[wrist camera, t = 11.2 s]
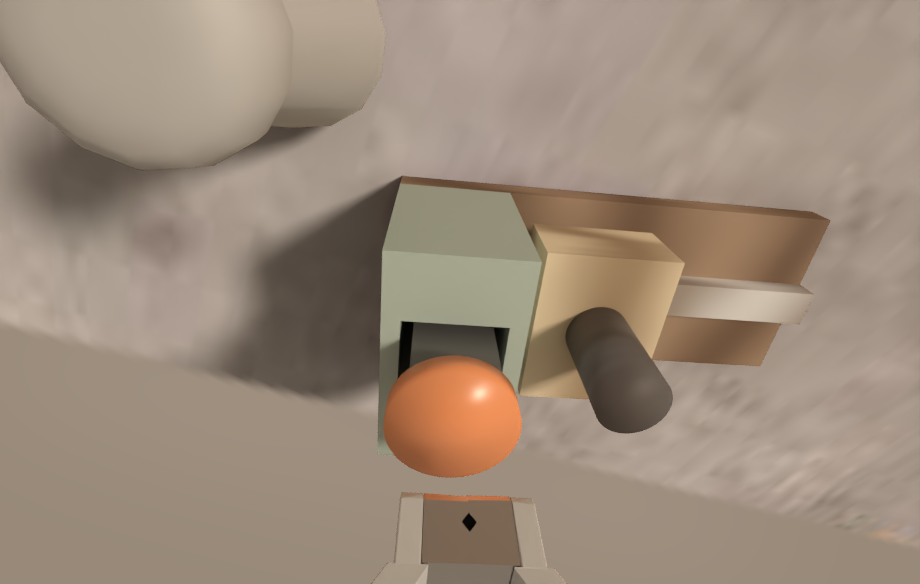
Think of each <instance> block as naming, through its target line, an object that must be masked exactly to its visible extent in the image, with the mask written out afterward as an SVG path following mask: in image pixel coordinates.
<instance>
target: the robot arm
mask: <svg viewBox="0 0 920 584" xmlns="http://www.w3.org/2000/svg"><path fill="white" fill-rule="evenodd" d="M371 584H566V582H565V581H564V580H563V579H562V577H561V576H560V575H559V574H558V573H557V571H556V570H555V569H554V568H547V563H546V558H545V554H544V549H543V543H542V538H541V533H540V528H539V523H538V518H537V513H536V508H535V503H534V501H533V500H532V499H531V498H514V497H510V498H509V497H500V496H451V495H439V494H424V495H423V493H405V492H402V493H401V497H400V504H399V514H398V525H397V535H396V546H395V556H394V563H386V565H385V566H384V567H383V569H382V570H381V572H380V573H379V574H378V575H377V577H376V578H375V579H374V581H373V582H372V583H371Z"/></svg>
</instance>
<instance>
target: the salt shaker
mask: <svg viewBox="0 0 920 584" xmlns="http://www.w3.org/2000/svg"><path fill="white" fill-rule="evenodd" d="M385 40H386V33H385V30H384V26H383V23H382V19H381V16H380V13H379V9H378V6H377V2H376V0H0V62H1V64H2V65H3V67H4V68H5V70H6V72H7V73H8V75H9V76H10V78H11V79H12V81H13V83H14V84H15V86H16V87H17V89H18V90H19V92H20V94H21V95H22V97H23V98H24V100H25V102H26V103H27V104H29V105H30V106H31V107H32V108H34V109H35V110H36V111H37V112H39V113H40V114H41V115H42V116H43V117H45V118H46V119H47V120H48V121H50V122H51V123H52V124H53V125H55V126H56V127H57V128H58V129H59V130H61V131H62V132H63V133H64V134H66V135H67V136H68V137H69V138H71V139H72V140H73V141H74V142H76V143H77V144H78V145H79V146H80V147H82V148H84V149H87V150H90V151H92V152H95V153H97V154H100V155H102V156H105V157H108V158H110V159H113V160H115V161H118V162H120V163H123V164H125V165H128V166H131V167H133V168H136V169H138V170H159V169H180V168H197V167H205V166H212V165H216V164H217V163H219V162H221V161H223V160H224V159H226V158H228V157H230V156H231V155H233V154H235V153H237V152H238V151H240V150H242V149H244V148H245V147H247V146H249V145H251V144H252V143H254V142H256V141H258V140H259V139H260V138H261V137H262V136H264V135H265V134H266V133H267V132H268V131H269V129H270V127H271V126H278V127H292V128H298V127H316V126H331V125H333V124H335V123H337V122H338V121H340V120H342V119H344V118H346V117H347V116H349V115H351V114H353V113H355V112H357V111H358V110H360V109H362V107H363V105H364V104H365V102H366V100H367V99H368V97H369V95H370V94H371V92H372V90H373V89H374V87H375V85H376V84H377V82H378V81H379V79H380V77H381V73H382V64H383V56H384V48H385Z"/></svg>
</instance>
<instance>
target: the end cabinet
mask: <svg viewBox="0 0 920 584" xmlns="http://www.w3.org/2000/svg"><path fill="white" fill-rule="evenodd" d="M541 265H542V261H541V259H540V257H539V255H538V252H537V250H536V248H535V246H534V244H533V242H532V239H531V237H530V235H529V233H528V231H527V228H526V226H525V224H524V222H523V220H522V217H521V215H520V213H519V211H518V209H517V207H516V204H515V202H514V200H513V198H512V196H511V193H504V192H493V191H481V190H469V189H458V188H446V187H435V186H423V185H411V184H400V186H399V190H398V193H397V197H396V201H395V205H394V208H393V212H392V216H391V219H390V223H389V227H388V231H387V234H386V238H385V242H384V245H383V249H382V280H381V322H380V365H379V407H378V449H377V454H378V455H394V454H393V453H392V451H391V450H390V448H389V447H388V445H387V442H386V440H385V436H384V429H383V424H384V416H385V410H386V403H387V398H388V394H389V392H390V389H391V387H392V386H393V384H394V383H395V381H396V380H397V379H398V378H399V377H400V376H401V375H402V374H403V373H404V372H405V371H406V370H408V369H409V368H410V358H411V347H412V336H413V325H414V322H424V323H440V324H456V325H471V326H487V327H494V332H495V337H496V343H497V348H498V353H499V359H500V364H501V369H502V373H503V374H504V375H505V376H506V377H507V378H508V379H509V381H510V382H511V384H512V385H513V388H514V390H515V392H516V393H517V388H518V383H519V377H520V372H521V367H522V362H523V357H524V352H525V347H526V342H527V336H528V331H529V326H530V321H531V316H532V311H533V306H534V301H535V295H536V290H537V285H538V280H539V275H540V270H541Z"/></svg>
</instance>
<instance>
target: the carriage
mask: <svg viewBox="0 0 920 584" xmlns="http://www.w3.org/2000/svg"><path fill="white" fill-rule="evenodd" d="M531 239H532V242H533V244H534V246H535V248H536V250H537V252H538V255H539V257H540V259H541V261H542V265H541V270H540V275H539V280H538V285H537V290H536V295H535V301H534V306H533V311H532V316H531V321H530V326H529V331H528V336H527V342H526V347H525V352H524V357H523V362H522V367H521V372H520V377H519V383H518V391H519V396H536V397H555V398H574V399H589V400H590V402H591V405H592V407H593V410H594V412H595V414H596V417H597V419H598V421H599V422H600V423H601V424H602V425H603V426H604V427H605V428H607V429H609V430H611V431H614V432H618V433H635V432H640V431H643V430H646V429H648V428H650V427H652V426H654V425H655V424H657V423H658V422H659V421H661V420H662V419H663V418H664V417H665V415H666V414H667V413H668V411H669V409H670V407H671V405H672V400H673V395H672V390H671V388H670V386H669V385H668V383H667V382H666V380H665V379H664V377H663V376H662V374H661V373H660V371H659V370H658V368H657V367H656V365H655V364H654V362H653V361H652V357H653V354H654V351H655V348H656V345H657V342H658V339H659V337H660V334H661V331H662V328H663V325H664V322H665V319H666V316H667V314H668V311H669V308H670V305H671V302H672V299H673V296H674V293H675V291H676V288H677V285H678V282H679V279H680V276H681V273H682V271H683V268H684V265H685V263H684V262H683V261H682V260H681V259H680V258H679V257H678V256H677V255H675V254H674V253H673V252H672V251H671V250H670V249H669V248H668V247H667V246H666V245H665V244H663V243H662V242H661V241H660V240H659V239H658V238H657V237H656V236H655V235H654V234H653V233H645V232H633V231H621V230H609V229H596V228H584V227H572V226H559V225H547V224H535V223H533V227H532V232H531Z"/></svg>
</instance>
